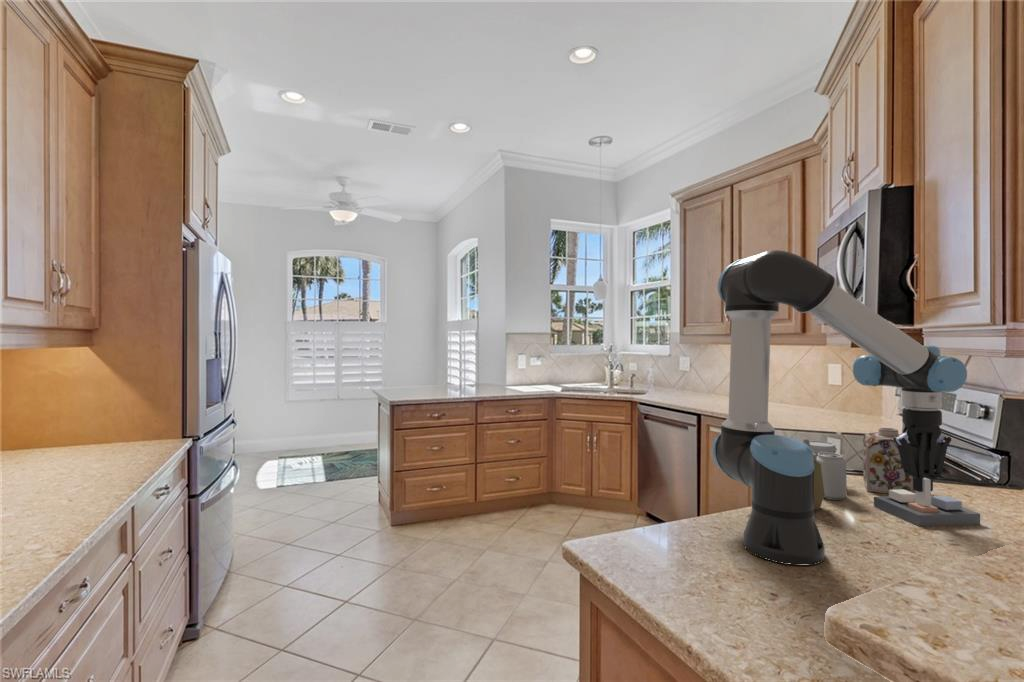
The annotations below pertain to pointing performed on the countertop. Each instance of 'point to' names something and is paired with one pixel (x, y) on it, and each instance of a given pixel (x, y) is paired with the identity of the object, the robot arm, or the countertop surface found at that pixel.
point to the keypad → (927, 514)
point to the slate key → (946, 503)
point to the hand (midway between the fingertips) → (923, 504)
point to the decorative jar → (884, 463)
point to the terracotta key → (922, 508)
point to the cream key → (902, 496)
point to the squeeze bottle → (817, 481)
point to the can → (833, 475)
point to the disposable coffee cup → (822, 447)
